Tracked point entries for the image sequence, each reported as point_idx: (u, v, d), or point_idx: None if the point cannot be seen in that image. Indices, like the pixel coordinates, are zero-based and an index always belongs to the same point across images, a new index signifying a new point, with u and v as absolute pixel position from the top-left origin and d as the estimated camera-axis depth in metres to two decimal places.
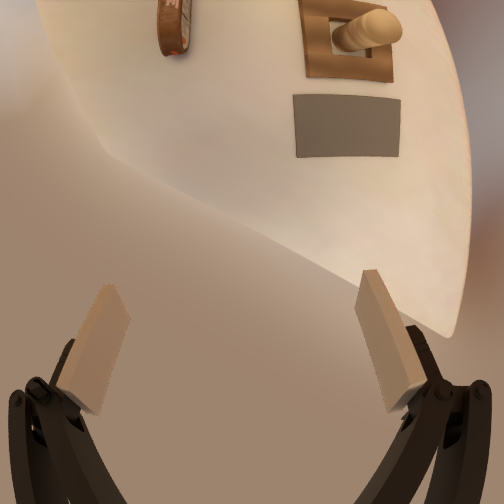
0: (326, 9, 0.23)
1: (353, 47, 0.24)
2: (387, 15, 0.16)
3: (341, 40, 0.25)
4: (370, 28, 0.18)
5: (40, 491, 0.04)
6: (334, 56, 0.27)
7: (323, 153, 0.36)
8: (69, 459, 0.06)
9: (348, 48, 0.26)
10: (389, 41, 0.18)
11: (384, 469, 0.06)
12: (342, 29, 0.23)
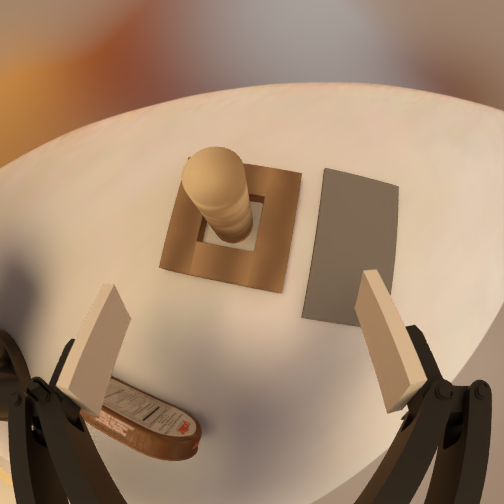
0: (184, 240, 0.26)
1: (246, 222, 0.24)
2: (194, 164, 0.17)
3: (234, 235, 0.25)
4: (216, 200, 0.16)
5: (40, 491, 0.04)
6: (257, 249, 0.26)
7: None
8: (69, 459, 0.06)
9: (247, 227, 0.26)
10: (241, 173, 0.17)
11: (384, 469, 0.06)
12: (217, 230, 0.24)
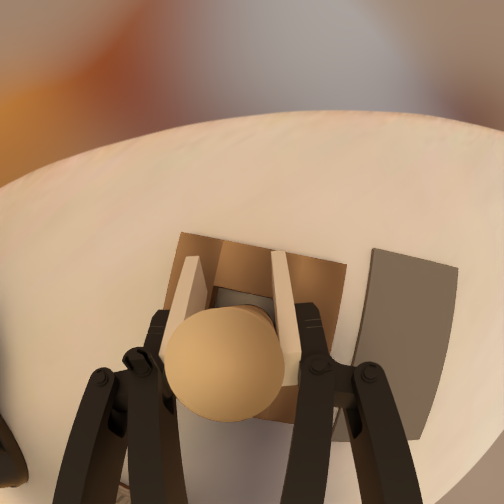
0: None
1: None
2: (185, 344, 0.09)
3: None
4: (233, 417, 0.08)
5: (92, 483, 0.06)
6: None
7: (428, 403, 0.18)
8: (150, 446, 0.07)
9: None
10: (277, 370, 0.08)
11: (289, 455, 0.07)
12: None
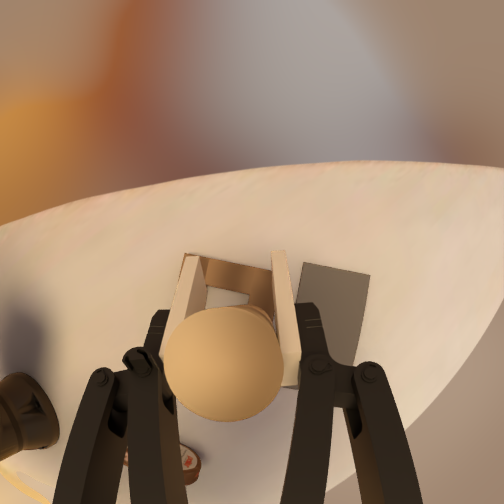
0: None
1: None
2: (184, 344, 0.09)
3: None
4: (232, 417, 0.08)
5: (92, 483, 0.06)
6: None
7: None
8: (150, 446, 0.07)
9: None
10: (276, 370, 0.08)
11: (289, 455, 0.07)
12: None
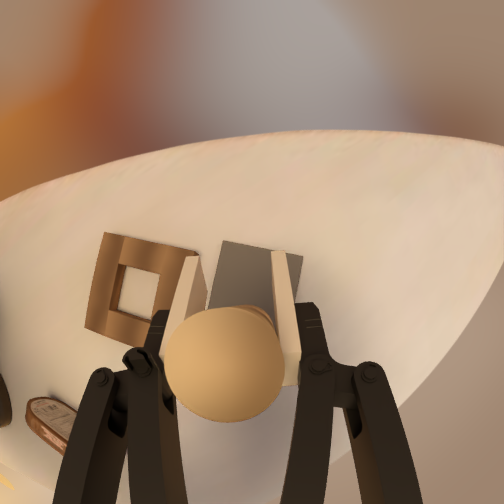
0: (100, 308, 0.29)
1: None
2: (184, 344, 0.09)
3: None
4: (233, 418, 0.08)
5: (92, 483, 0.06)
6: None
7: None
8: (150, 446, 0.07)
9: None
10: (277, 371, 0.08)
11: (289, 455, 0.07)
12: None
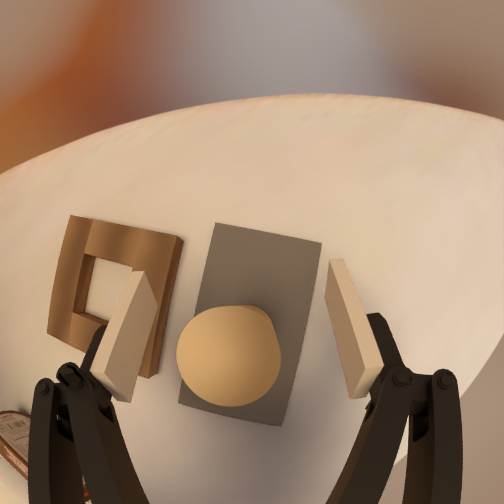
0: (63, 309, 0.21)
1: None
2: (194, 338, 0.10)
3: None
4: (236, 402, 0.10)
5: (57, 485, 0.05)
6: None
7: (285, 386, 0.21)
8: (95, 451, 0.06)
9: None
10: (274, 360, 0.10)
11: (351, 461, 0.07)
12: None
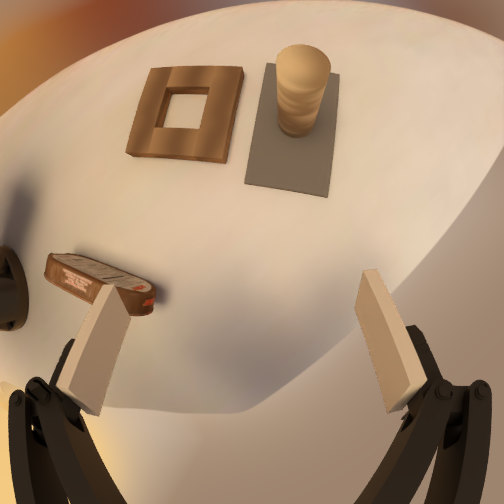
0: (145, 128, 0.28)
1: (316, 114, 0.24)
2: (285, 56, 0.16)
3: (303, 126, 0.25)
4: (311, 82, 0.16)
5: (40, 491, 0.04)
6: (202, 126, 0.28)
7: (327, 162, 0.28)
8: (69, 459, 0.06)
9: (314, 121, 0.25)
10: (327, 64, 0.16)
11: (384, 469, 0.06)
12: (290, 121, 0.24)
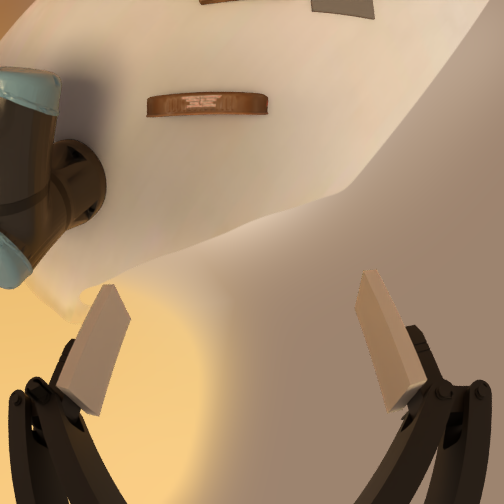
0: None
1: None
2: None
3: None
4: None
5: (40, 491, 0.04)
6: None
7: None
8: (69, 459, 0.06)
9: None
10: None
11: (384, 469, 0.06)
12: None
